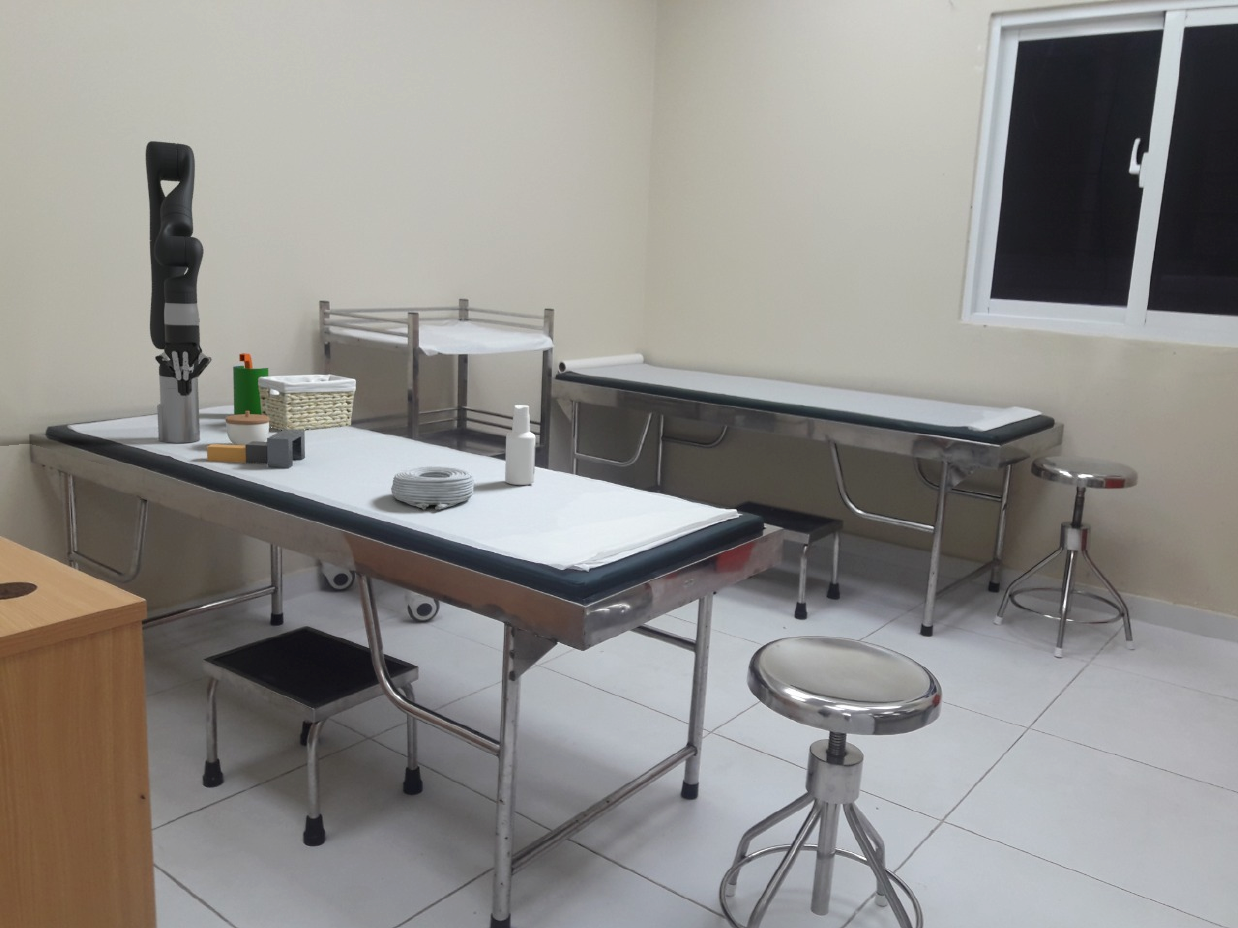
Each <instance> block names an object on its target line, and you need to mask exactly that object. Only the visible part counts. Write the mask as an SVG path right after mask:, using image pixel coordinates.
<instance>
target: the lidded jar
mask: <svg viewBox="0 0 1238 928" xmlns="http://www.w3.org/2000/svg"><path fill="white" fill-rule="evenodd" d="M224 421H225V428H226V429H225V430H226V434H227V436H228V439H229V441H230V442H231V443H232V445H246V444H248V443H250V442H252V441H259V442H266V441H267V438H268V436H269V433H270V431H269V430H270V427H269V417H268V416H265V415H257V414H250V412H249V411H245V414H240V415H234V414H231V415H227V416H226V417H225V419H224Z"/></svg>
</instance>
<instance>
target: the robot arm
mask: <svg viewBox="0 0 1238 928" xmlns="http://www.w3.org/2000/svg"><path fill="white" fill-rule="evenodd" d="M145 167H146V168H145V169H146V179H147V180H146V181H147V191H148V203H149V256H150V257H149V260H150V273H151V274H150V277H151V278H150V280H151V294H150V295H151V297H150V311H149V312H150V314H149V334H150V340H151V342H152V344H153V346H154V347H155V348H156V349H158V350H163V352H162V353H161V354H159V355H156V356H155V357H154V359H155V361H156V362H157V363H158V364H159V366H158V375H159V376H158V379H159V381H158V382H159V396H160V397H159V401H160V403H158V404H157V407H156V409H157V429H158V431H157V433H158V441H159V442H163V443H164V442H165V443H175V444H176V443H177V444H178V443H179V444H180V443H181V444H182V443H193V442H199V441H200V440H201V435H200V434H201V430H200V429H201V428H200V426H201V425H200V404H199V403H200V401H199V399H200V398H199V379H198V378H199V377H200V376H201V375H202V374H203V373H204V371H205V370H206V368H207V367H208V366H209V364H210V363H211V362H212V360H213V359H212V357H211V356H208V355H206V354H205V353H203V349H202V347H201V344H200V343H201V332H200V330H201V329H200V313H199V307H198V286H197V285H198V278H199V273H200V272H199V271H200V269H201V265H202V261H203V257H204V246H203V243H202V242H201V240H200V239H198V237H195V236H194V237H193V236H192V235H193V233H194V223H193V221H194V220H193V200H194V199H193V198H194V191H195V190H194V189H195V179H196V178H195V177H196V175H195V174H196V173H195V171H196V161H195V154H194V150H193V149H192V147H191V146H189V145H188V144H184V143H183V144H182V143H179V142H178V143H177V142H166V141H158V140H157V141H156V140H154V141H153V140H152V141H151V140H150V141H148V143H147V144H146V148H145ZM162 181H165V182H166V181H167V182H177V185H176V186H175V187H174V188H173V189H172V190H171V191H170V192H169V193H168V194H167V195H165V193H164V190H163V187H162V183H161V182H162Z"/></svg>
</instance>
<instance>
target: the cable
mask: <svg viewBox="0 0 1238 928" xmlns="http://www.w3.org/2000/svg"><path fill="white" fill-rule="evenodd" d="M390 490H391V491H390V492H391V494H392V495H394V498H395V499H396V500H398V501H400V502H404V503H406V504H408V505H410V506H413V507H417V508H420V509H422V510H426V509H427V507H429V506H435V507H434V509H435V510H439V511H440V510H443V509H447V508H449V507H453V506H455V505H458V504H459V503H462V502H465V501H468V500H470V499H471V498H472V496H473V494H474V476H473V475H472V474H471V473H470V472H468V471H466V470H464V469H460V468H456V467H451V466H450V467H449V466H435V465H433V466H432V465H431V466H428V465H427V466H417V467H410V468H407V469H403V470H401V471H398V472H396V473H395V474H394V477H393V480H392V485H391V487H390Z"/></svg>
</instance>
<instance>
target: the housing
mask: <svg viewBox="0 0 1238 928" xmlns="http://www.w3.org/2000/svg"><path fill="white" fill-rule="evenodd" d="M305 431H306V430H288V429H284V430H282V431H280V430H279V431H278V432H276V433H275V434H272V435H271V436H269V437H268V436H267V439H266V442H267V460H268V464H267V468H273V469H274V468H275V469H276V468H277V469H290V468H292V467H293V466H294V463H293V462H294V461H302V460H304V459H305V458H306V444H305V443H306V441H305V440H306V439H305V436H306V435H305ZM293 460H294V461H293Z"/></svg>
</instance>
